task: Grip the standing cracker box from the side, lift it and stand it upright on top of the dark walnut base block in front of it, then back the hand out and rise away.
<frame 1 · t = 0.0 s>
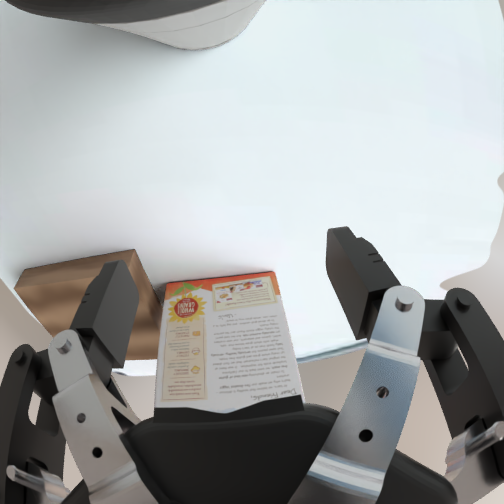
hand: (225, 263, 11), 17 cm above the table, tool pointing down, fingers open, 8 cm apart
cracker box: (222, 290, 36), on the table
walnut base: (99, 306, 36), on the table
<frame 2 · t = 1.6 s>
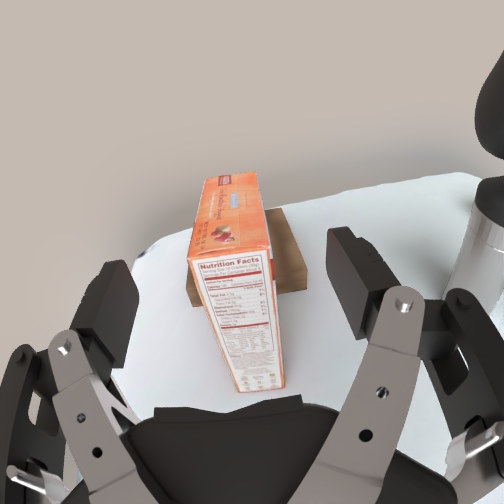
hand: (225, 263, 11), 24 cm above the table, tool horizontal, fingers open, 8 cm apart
cracker box: (256, 347, 35), on the table
walnut base: (244, 259, 51), on the table
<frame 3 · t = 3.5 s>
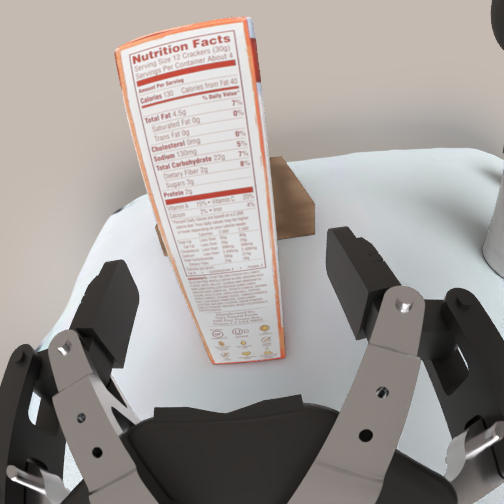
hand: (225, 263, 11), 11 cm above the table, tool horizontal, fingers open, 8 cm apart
cracker box: (244, 301, 25), on the table
walnut base: (235, 207, 40), on the table
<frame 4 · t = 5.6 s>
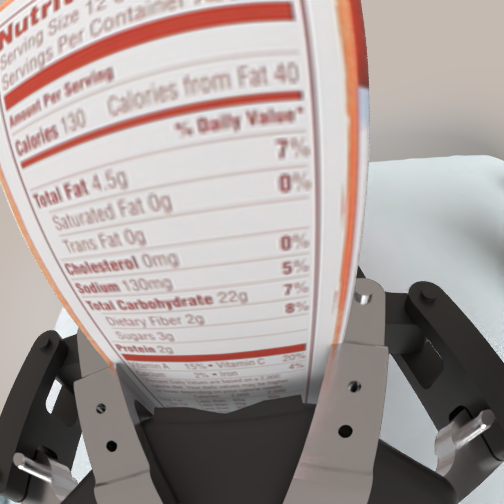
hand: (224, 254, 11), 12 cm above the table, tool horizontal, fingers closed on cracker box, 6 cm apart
cracker box: (255, 376, 19), on the table, touching gripper
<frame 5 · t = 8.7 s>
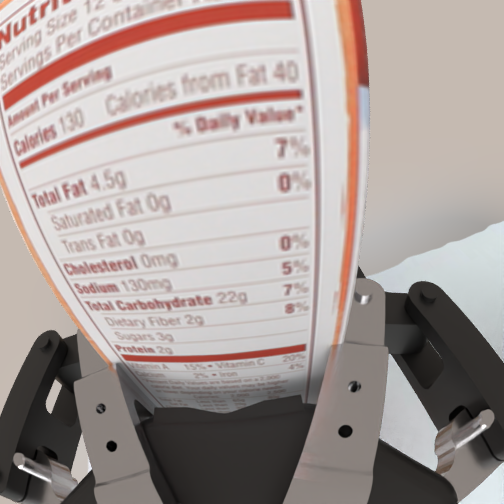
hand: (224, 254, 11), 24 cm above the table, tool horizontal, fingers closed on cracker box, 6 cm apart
cracker box: (255, 376, 19), point 12 cm above the table, touching gripper
when the fingers open (17 cm above the table, at t = 11.4 s): cracker box drops 1 cm, resting on walnut base.
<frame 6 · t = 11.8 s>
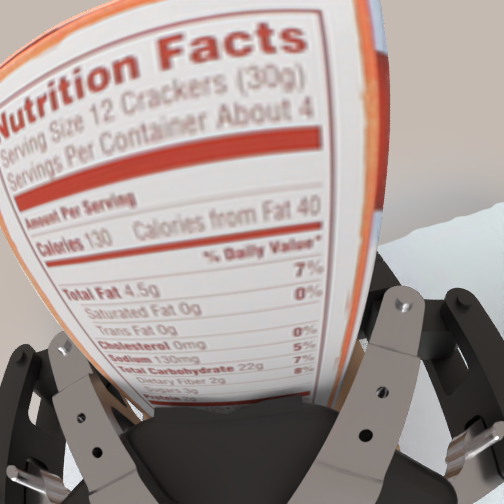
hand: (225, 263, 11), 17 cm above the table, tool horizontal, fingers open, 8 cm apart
cracker box: (257, 389, 19), point 4 cm above the table, touching walnut base
walnut base: (260, 403, 22), on the table
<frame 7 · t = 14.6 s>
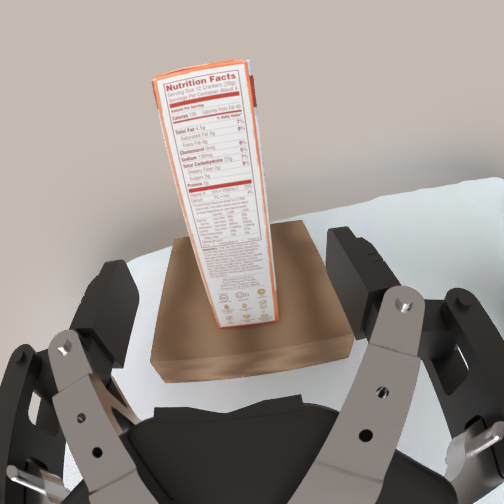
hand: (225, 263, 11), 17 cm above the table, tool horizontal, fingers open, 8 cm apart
cracker box: (244, 279, 30), point 4 cm above the table, touching walnut base
walnut base: (247, 301, 32), on the table
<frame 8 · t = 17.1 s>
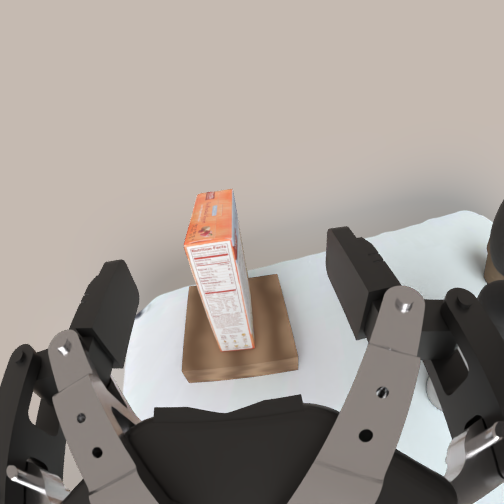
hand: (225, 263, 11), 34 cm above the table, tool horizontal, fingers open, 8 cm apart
cracker box: (236, 319, 47), point 4 cm above the table, touching walnut base
flower pot: (493, 281, 48), on the table
walnut base: (238, 331, 50), on the table
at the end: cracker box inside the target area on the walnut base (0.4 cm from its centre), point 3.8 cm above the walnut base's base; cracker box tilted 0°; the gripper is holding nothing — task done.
